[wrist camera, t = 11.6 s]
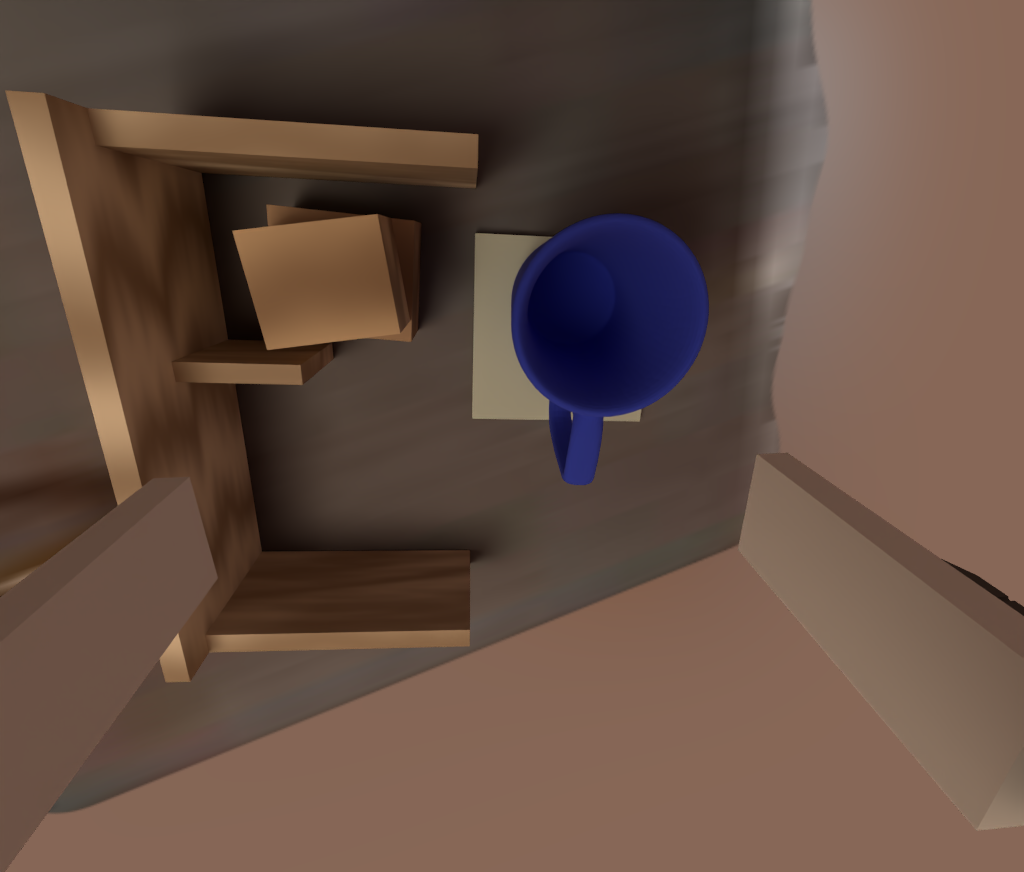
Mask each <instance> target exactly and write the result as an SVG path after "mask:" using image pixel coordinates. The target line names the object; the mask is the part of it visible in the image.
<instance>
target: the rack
mask: <svg viewBox="0 0 1024 872" xmlns="http://www.w3.org/2000/svg"><path fill="white" fill-rule="evenodd" d="M6 95H7V98H8V102H9V106H10V109H11V113H12V117H13V120H14V124H15V128H16V131H17V135H18V139H19V143H20V146H21V150H22V154H23V157H24V161H25V165H26V168H27V172H28V176H29V179H30V183H31V187H32V190H33V194H34V198H35V202H36V205H37V209H38V213H39V216H40V220H41V224H42V227H43V231H44V235H45V238H46V242H47V246H48V249H49V253H50V257H51V261H52V264H53V268H54V272H55V275H56V279H57V283H58V286H59V290H60V294H61V297H62V301H63V305H64V308H65V312H66V316H67V320H68V323H69V327H70V331H71V334H72V338H73V342H74V345H75V349H76V353H77V356H78V360H79V364H80V367H81V371H82V375H83V379H84V382H85V386H86V390H87V393H88V397H89V401H90V404H91V408H92V412H93V415H94V419H95V423H96V426H97V430H98V434H99V438H100V441H101V445H102V449H103V452H104V456H105V460H106V463H107V467H108V471H109V474H110V478H111V482H112V486H113V489H114V493H115V497H116V500H117V504H118V505H120V504H121V503H122V502H124V501H125V500H126V499H127V498H129V497H130V496H131V495H132V494H134V493H135V492H136V491H138V490H139V489H140V488H141V487H143V486H144V485H145V484H147V483H148V482H149V481H150V480H152V479H153V478H173V477H190V480H191V484H192V488H193V491H194V495H195V498H196V502H197V505H198V509H199V512H200V516H201V520H202V523H203V527H204V530H205V534H206V537H207V541H208V544H209V548H210V552H211V555H212V559H213V562H214V566H215V569H216V573H217V576H218V579H217V580H216V582H215V583H214V584H213V586H212V587H211V588H210V590H209V591H208V593H207V594H206V595H205V597H204V598H203V600H202V601H201V602H200V604H199V605H198V606H197V608H196V609H195V611H194V612H193V613H192V615H191V616H190V617H189V619H188V620H187V622H186V623H185V624H184V626H183V627H182V628H181V630H180V631H179V633H178V634H177V635H176V637H175V638H174V639H173V641H172V642H171V644H170V645H169V646H168V648H167V649H166V651H165V652H164V653H163V655H162V656H161V657H160V663H161V666H162V670H163V674H164V677H165V681H166V682H190V681H191V680H192V678H193V676H194V675H195V673H196V672H197V670H198V669H199V667H200V666H201V664H202V662H203V661H204V659H205V658H206V656H207V655H208V653H209V652H242V651H284V650H327V649H369V648H412V647H454V646H470V550H414V551H263V552H262V548H261V542H260V536H259V530H258V523H257V517H256V511H255V504H254V498H253V492H252V486H251V479H250V473H249V467H248V461H247V454H246V448H245V442H244V436H243V429H242V423H241V417H240V411H239V404H238V398H237V392H236V386H235V383H242V384H288V385H303V384H304V383H305V382H307V381H308V380H309V379H310V378H311V377H313V376H314V375H315V374H316V373H317V372H318V371H320V370H321V369H322V368H323V367H324V366H326V365H327V364H328V363H329V362H330V361H332V360H333V347H332V342H329V343H321V344H313V345H305V346H296V347H288V348H280V349H272V350H267V347H266V344H265V341H264V340H230V339H228V335H227V329H226V323H225V317H224V310H223V304H222V298H221V292H220V285H219V279H218V273H217V267H216V260H215V254H214V248H213V242H212V235H211V229H210V223H209V217H208V210H207V204H206V198H205V191H204V185H203V179H202V173H211V174H228V175H246V176H264V177H281V178H299V179H316V180H334V181H351V182H369V183H387V184H404V185H422V186H439V187H457V188H474V189H476V182H477V171H478V134H465V133H450V132H435V131H420V130H405V129H390V128H375V127H360V126H345V125H330V124H315V123H300V122H285V121H270V120H255V119H240V118H225V117H210V116H195V115H180V114H165V113H150V112H135V111H120V110H104V109H89V108H85V107H82V106H79V105H76V104H74V103H71V102H68V101H65V100H62V99H59V98H56V97H54V96H51V95H48V94H45V93H34V92H19V91H6Z"/></svg>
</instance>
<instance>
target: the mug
mask: <svg viewBox="0 0 1024 872" xmlns="http://www.w3.org/2000/svg"><path fill="white" fill-rule="evenodd" d="M708 315H709V301H708V291H707V286H706V281H705V278H704V275H703V272H702V270H701V267H700V265H699V263H698V261H697V259H696V257H695V256H694V254H693V253H692V251H691V250H690V248H689V247H688V246H687V245H686V244H685V242H684V241H683V240H682V239H681V238H679V237H678V236H677V235H676V234H675V233H674V232H673V231H671V230H670V229H668V228H667V227H665V226H664V225H662V224H660V223H658V222H656V221H653V220H651V219H648V218H645V217H642V216H637V215H632V214H621V213H614V214H603V215H598V216H593V217H590V218H587V219H584V220H581V221H579V222H576V223H574V224H572V225H570V226H568V227H567V228H565V229H563V230H562V231H560V232H559V233H557V234H556V235H555V236H553V237H552V238H550V239H549V240H547V241H546V242H545V243H543V244H542V245H540V246H539V247H538V248H537V249H535V250H534V251H533V252H532V253H531V254H530V255H529V256H528V257H527V259H526V260H525V261H524V263H523V264H522V266H521V267H520V269H519V271H518V273H517V275H516V278H515V281H514V285H513V289H512V295H511V332H512V340H513V345H514V349H515V353H516V356H517V359H518V361H519V363H520V366H521V368H522V370H523V371H524V373H525V375H526V376H527V378H528V379H529V381H530V382H531V383H532V384H533V386H534V387H535V388H536V389H537V390H538V391H539V392H540V393H541V394H542V395H543V396H544V397H546V398H547V399H548V400H549V425H550V432H551V437H552V442H553V447H554V451H555V455H556V458H557V462H558V465H559V469H560V472H561V475H562V478H563V480H564V481H565V482H567V483H569V484H574V485H586V484H589V483H591V482H592V481H593V479H594V475H595V471H596V466H597V462H598V457H599V451H600V446H601V439H602V431H603V418H604V417H612V416H619V415H624V414H628V413H631V412H634V411H637V410H640V409H642V408H644V407H646V406H649V405H650V404H652V403H654V402H656V401H657V400H659V399H660V398H661V397H663V396H664V395H666V394H667V393H668V392H669V391H670V390H671V389H673V388H674V387H675V386H676V385H677V384H678V383H679V381H680V380H681V379H682V378H683V377H684V376H685V374H686V373H687V372H688V370H689V369H690V367H691V366H692V364H693V362H694V361H695V359H696V357H697V355H698V353H699V351H700V348H701V346H702V343H703V340H704V337H705V333H706V328H707V324H708ZM571 412H572V413H573V421H572V420H571Z"/></svg>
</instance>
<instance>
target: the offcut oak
mask: <svg viewBox="0 0 1024 872" xmlns="http://www.w3.org/2000/svg"><path fill="white" fill-rule="evenodd" d="M232 232H233V235H234V239H235V242H236V245H237V249H238V252H239V256H240V259H241V262H242V266H243V269H244V273H245V276H246V279H247V283H248V286H249V290H250V293H251V296H252V300H253V303H254V307H255V310H256V313H257V317H258V320H259V324H260V327H261V330H262V334H263V337H264V341H265V344H266V347H267V350H272V349H280V348H288V347H296V346H305V345H313V344H321V343H329V342H337V341H345V340H353V339H361V338H369V337H377V336H385V335H393V334H400V333H401V332H402V331H403V329H404V328H405V327H406V326H407V324H408V323H409V322H410V317H409V312H408V307H407V301H406V296H405V290H404V285H403V279H402V274H401V268H400V263H399V257H398V252H397V246H396V241H395V235H394V230H393V225H392V219H391V218H389V217H385V216H382V215H379V214H373V215H364V216H355V217H347V218H338V219H329V220H321V221H312V222H303V223H295V224H286V225H277V226H269V227H260V228H251V229H243V230H234V231H232Z"/></svg>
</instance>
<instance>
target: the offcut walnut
mask: <svg viewBox="0 0 1024 872" xmlns="http://www.w3.org/2000/svg"><path fill="white" fill-rule="evenodd" d="M266 205H267V204H266ZM355 216H364V215H358V214H349V213H340V212H331V211H322V210H312V209H303V208H294V207H285V206H276V205H267V219H268V227H269V226H277V225H286V224H295V223H303V222H312V221H321V220H329V219H338V218H347V217H355ZM391 219H392V225H393V230H394V235H395V241H396V246H397V252H398V257H399V263H400V268H401V274H402V279H403V285H404V290H405V296H406V301H407V307H408V312H409V317H410V322H409V323H408V324H407V326H406V327H405V328H404V329H403V331H402V332H401V333H400V334H393V335H385V336H377V337H369V338H373V339H385V340H397V341H409V342H411V341H412V340H413V338H414V336H415V334H416V333H417V331H418V315H419V283H420V252H421V223H419V222H417V221H413V220H403V219H394V218H391Z"/></svg>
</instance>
